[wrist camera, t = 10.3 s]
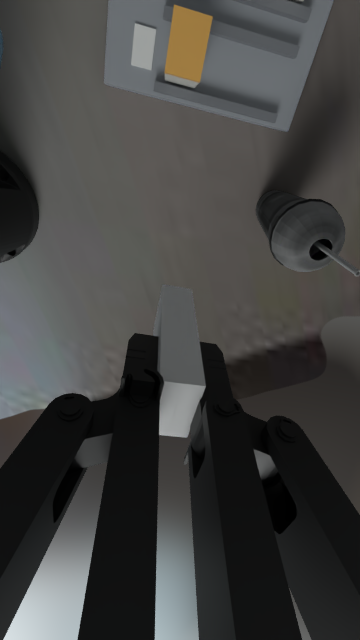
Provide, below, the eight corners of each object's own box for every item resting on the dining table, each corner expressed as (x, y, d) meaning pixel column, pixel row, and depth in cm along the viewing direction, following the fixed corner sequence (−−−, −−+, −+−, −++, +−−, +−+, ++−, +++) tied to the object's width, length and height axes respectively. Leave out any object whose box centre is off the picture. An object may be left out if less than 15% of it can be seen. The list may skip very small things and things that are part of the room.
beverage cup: (256, 172, 38) (325, 215, 21) (309, 185, 39) (413, 236, 23) (238, 228, 42) (284, 301, 25) (286, 239, 43) (360, 315, 26)
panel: (108, 86, 33) (102, 82, 29) (123, -142, 25) (116, -182, 21) (279, 130, 36) (291, 132, 32) (343, -59, 27) (367, -84, 24)
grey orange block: (164, 80, 30) (164, 72, 24) (172, 27, 28) (173, 4, 22) (193, 88, 31) (200, 82, 25) (203, 36, 28) (212, 16, 23)
